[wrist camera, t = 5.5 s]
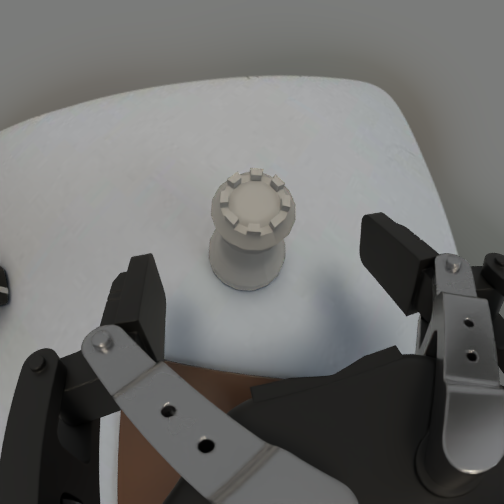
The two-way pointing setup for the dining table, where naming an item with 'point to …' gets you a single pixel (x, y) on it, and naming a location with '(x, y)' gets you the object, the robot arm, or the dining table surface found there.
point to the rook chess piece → (250, 229)
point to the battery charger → (3, 288)
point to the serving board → (146, 456)
